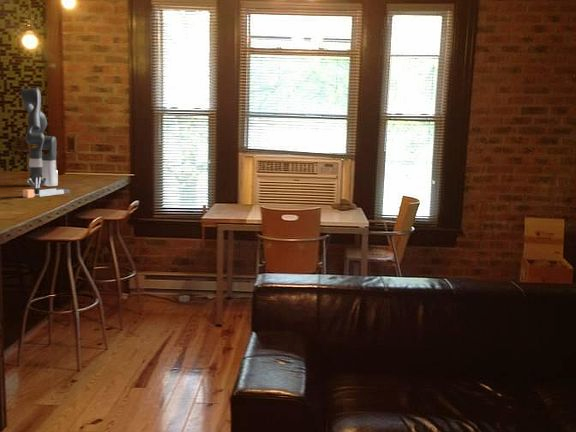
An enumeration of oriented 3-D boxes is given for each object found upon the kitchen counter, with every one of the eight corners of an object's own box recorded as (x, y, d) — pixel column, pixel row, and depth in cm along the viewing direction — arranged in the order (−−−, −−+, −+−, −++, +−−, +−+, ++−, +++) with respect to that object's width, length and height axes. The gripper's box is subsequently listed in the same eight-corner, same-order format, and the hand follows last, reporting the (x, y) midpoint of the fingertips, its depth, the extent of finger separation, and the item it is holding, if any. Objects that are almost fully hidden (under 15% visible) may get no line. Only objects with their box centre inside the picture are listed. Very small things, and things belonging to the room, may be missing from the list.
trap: (61, 191, 430) (61, 188, 430) (70, 192, 426) (70, 190, 426) (55, 192, 426) (55, 189, 426) (63, 193, 422) (63, 190, 422)
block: (29, 196, 407) (29, 188, 407) (34, 197, 405) (34, 189, 404) (23, 197, 404) (22, 189, 403) (28, 197, 401) (27, 190, 401)
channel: (55, 192, 426) (55, 188, 425) (63, 193, 422) (63, 189, 421) (31, 195, 411) (31, 191, 410) (40, 196, 407) (40, 192, 406)
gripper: (40, 164, 414) (41, 192, 417) (22, 166, 403) (23, 194, 406) (49, 165, 410) (49, 193, 413) (30, 167, 399) (31, 196, 402)
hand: (36, 194), depth 409 cm, fingers closed
